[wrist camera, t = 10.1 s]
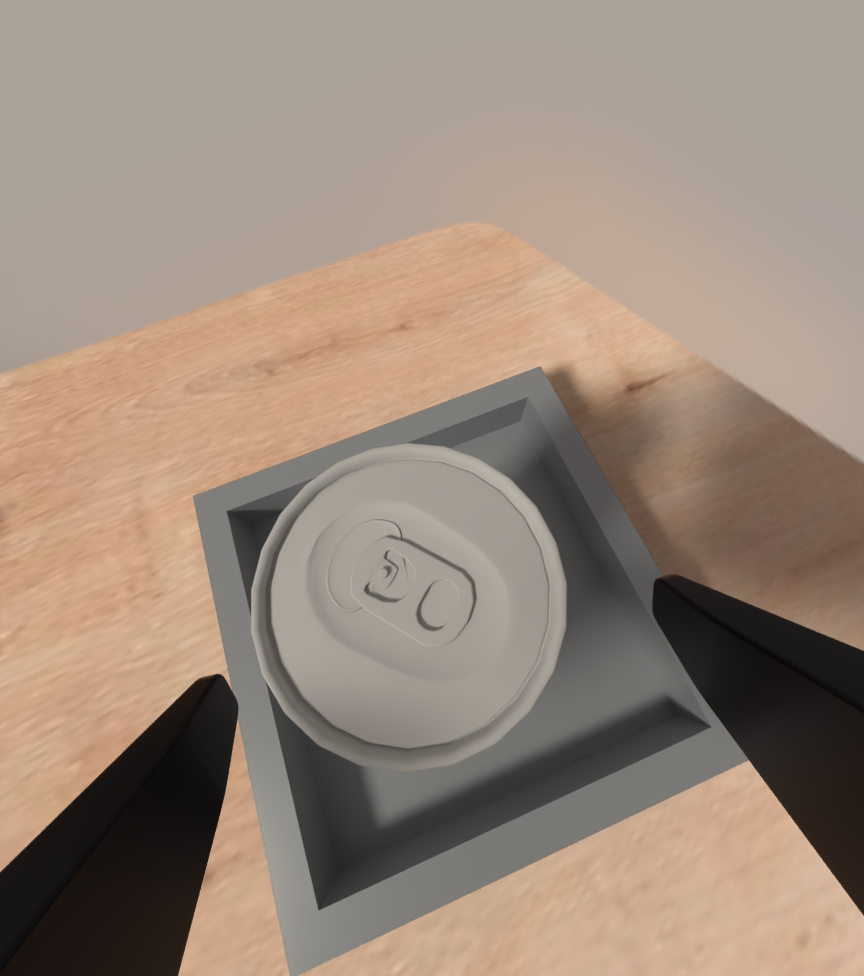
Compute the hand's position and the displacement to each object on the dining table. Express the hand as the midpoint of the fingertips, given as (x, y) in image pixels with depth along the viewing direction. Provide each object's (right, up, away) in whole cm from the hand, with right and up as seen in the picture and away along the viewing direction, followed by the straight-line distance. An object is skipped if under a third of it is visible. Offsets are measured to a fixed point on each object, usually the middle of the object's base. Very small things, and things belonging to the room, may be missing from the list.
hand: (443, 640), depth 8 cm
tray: (0, -2, +10) cm, 10 cm away
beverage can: (0, -2, +9) cm, 9 cm away
